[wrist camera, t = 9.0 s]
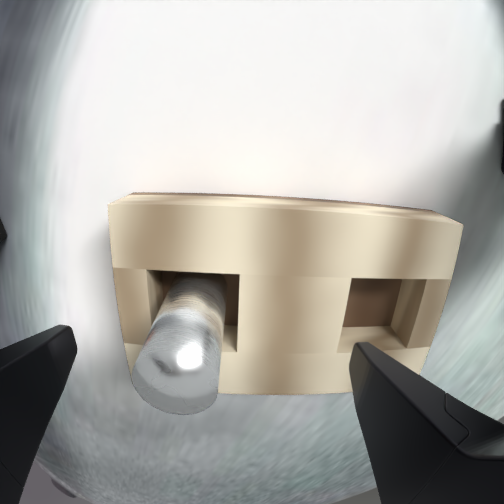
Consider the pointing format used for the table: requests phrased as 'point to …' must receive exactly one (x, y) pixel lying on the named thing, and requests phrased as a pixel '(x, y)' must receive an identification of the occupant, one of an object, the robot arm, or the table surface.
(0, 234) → the battery
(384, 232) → the bore block
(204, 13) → the table surface
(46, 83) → the table surface
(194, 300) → the pin
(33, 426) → the robot arm
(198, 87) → the table surface
